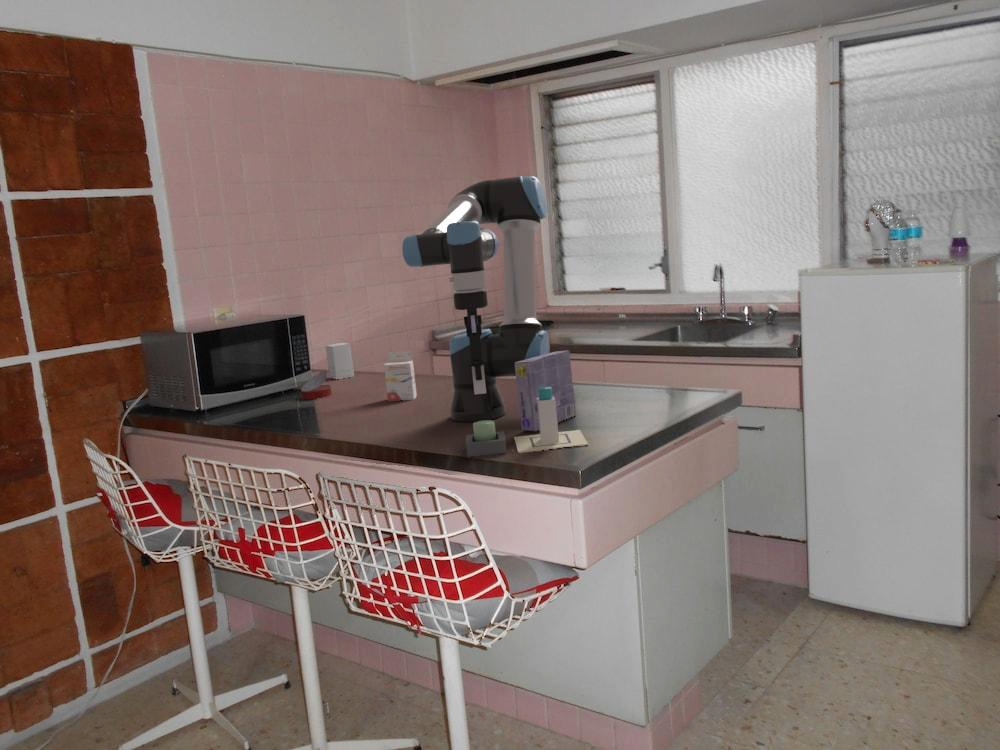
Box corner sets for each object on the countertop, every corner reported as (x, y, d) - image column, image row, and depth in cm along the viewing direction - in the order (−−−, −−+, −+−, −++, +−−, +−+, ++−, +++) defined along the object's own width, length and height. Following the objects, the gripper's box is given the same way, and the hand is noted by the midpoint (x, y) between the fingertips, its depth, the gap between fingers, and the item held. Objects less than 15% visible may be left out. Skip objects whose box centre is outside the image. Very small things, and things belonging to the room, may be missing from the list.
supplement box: (355, 376, 333) (350, 343, 331) (336, 380, 329) (331, 346, 327) (347, 374, 339) (343, 342, 337) (329, 378, 336) (324, 345, 333)
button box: (467, 447, 212) (465, 435, 211) (504, 443, 212) (503, 430, 212) (467, 457, 203) (466, 444, 203) (506, 452, 203) (505, 440, 203)
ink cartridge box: (387, 402, 278) (381, 355, 275) (390, 398, 283) (385, 352, 280) (414, 399, 277) (408, 353, 274) (417, 396, 282) (412, 350, 279)
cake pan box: (563, 414, 237) (558, 348, 234) (579, 415, 234) (573, 348, 230) (519, 431, 222) (512, 362, 219) (535, 433, 219) (528, 362, 216)
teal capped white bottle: (540, 439, 211) (535, 387, 209) (557, 437, 211) (552, 385, 209) (542, 443, 207) (537, 390, 205) (559, 441, 207) (554, 388, 205)
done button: (474, 440, 210) (472, 421, 209) (495, 438, 210) (494, 419, 209) (475, 445, 205) (473, 426, 204) (496, 443, 205) (494, 424, 204)
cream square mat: (514, 438, 216) (514, 436, 216) (580, 431, 216) (579, 429, 216) (518, 453, 202) (518, 451, 202) (588, 445, 202) (588, 443, 202)
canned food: (330, 410, 298) (326, 387, 291) (300, 410, 298) (295, 387, 292) (336, 389, 307) (332, 366, 300) (306, 389, 307) (302, 366, 301)
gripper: (453, 290, 208) (463, 389, 212) (453, 294, 195) (464, 400, 199) (485, 287, 208) (495, 386, 212) (487, 291, 195) (497, 396, 199)
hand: (480, 393), depth 205 cm, fingers closed
